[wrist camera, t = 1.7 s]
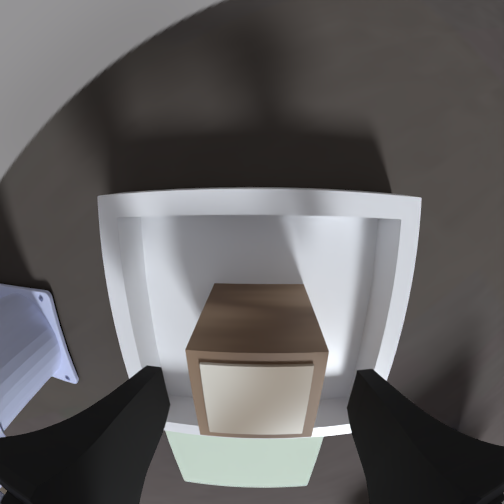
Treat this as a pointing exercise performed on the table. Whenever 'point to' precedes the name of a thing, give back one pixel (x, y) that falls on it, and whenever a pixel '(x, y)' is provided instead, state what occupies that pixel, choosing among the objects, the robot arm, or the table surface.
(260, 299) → the walnut block
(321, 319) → the grey bin
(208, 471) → the sage pad
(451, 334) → the table surface
